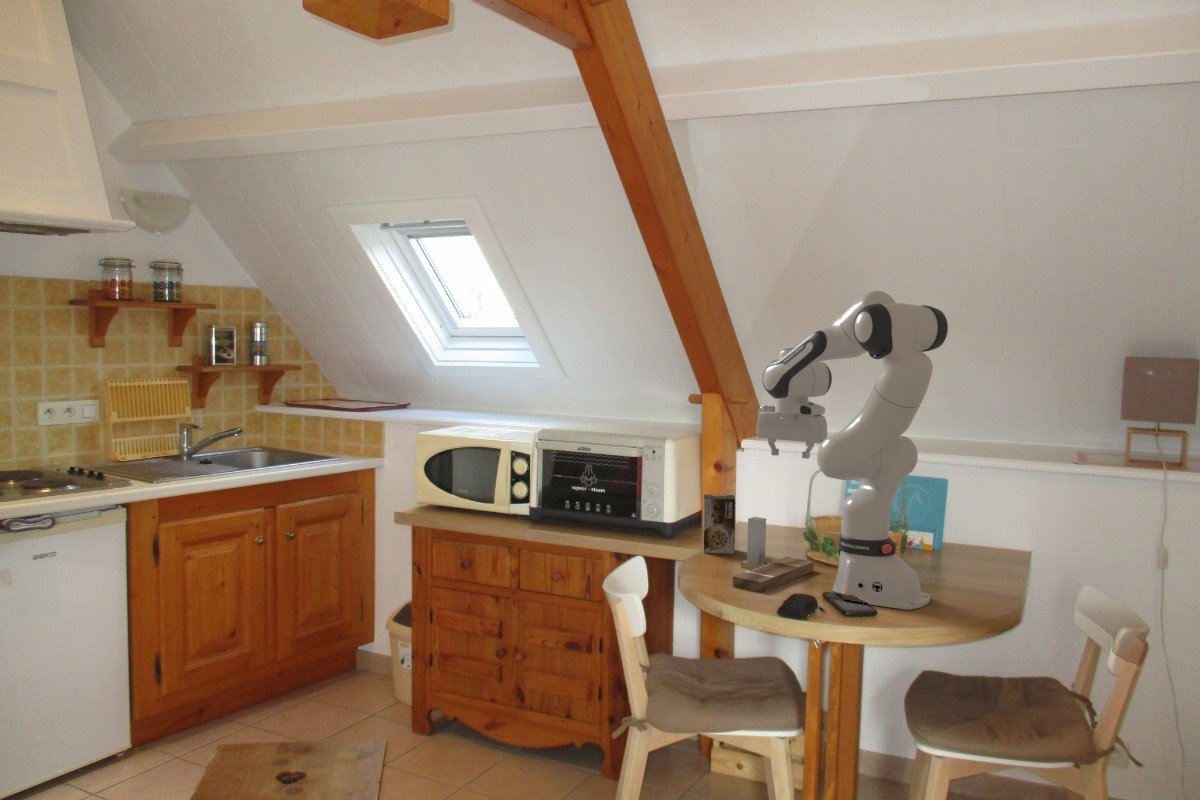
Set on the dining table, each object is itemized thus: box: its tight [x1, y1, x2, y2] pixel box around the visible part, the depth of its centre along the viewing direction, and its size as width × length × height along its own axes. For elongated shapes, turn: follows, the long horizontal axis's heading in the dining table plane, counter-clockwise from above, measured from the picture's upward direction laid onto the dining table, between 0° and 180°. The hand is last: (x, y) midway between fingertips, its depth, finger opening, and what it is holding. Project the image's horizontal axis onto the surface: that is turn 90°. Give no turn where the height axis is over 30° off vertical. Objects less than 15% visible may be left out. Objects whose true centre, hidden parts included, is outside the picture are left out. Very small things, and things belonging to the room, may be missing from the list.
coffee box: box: [702, 494, 736, 555], centre depth 269 cm, size 9×6×16 cm
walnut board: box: [732, 556, 815, 593], centre depth 240 cm, size 8×28×3 cm, turn 141°
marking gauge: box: [740, 516, 769, 570], centre depth 250 cm, size 7×4×14 cm, turn 51°
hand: (790, 456), depth 258 cm, fingers open, 8 cm apart
